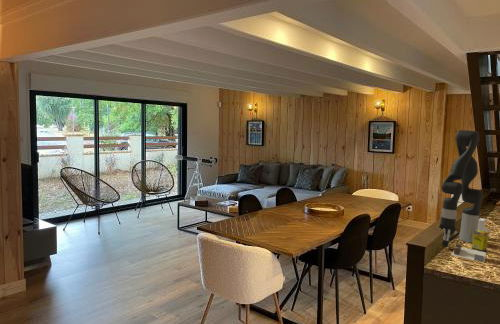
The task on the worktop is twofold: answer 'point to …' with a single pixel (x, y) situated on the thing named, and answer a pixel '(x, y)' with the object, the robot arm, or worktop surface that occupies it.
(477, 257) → the leg stop
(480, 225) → the cylinder with rectangular tab
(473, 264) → the worktop surface
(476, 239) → the supplement box
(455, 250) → the folding leg
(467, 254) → the stool seat
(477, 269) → the worktop surface
